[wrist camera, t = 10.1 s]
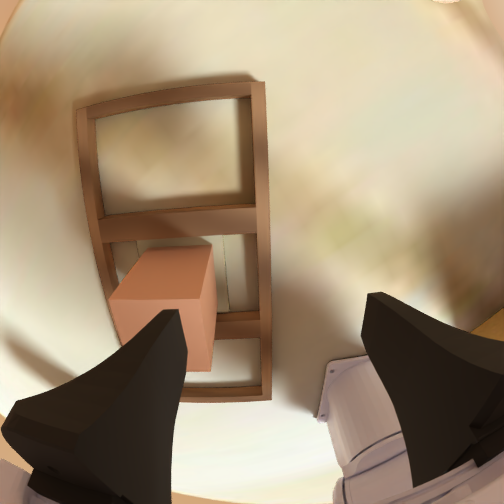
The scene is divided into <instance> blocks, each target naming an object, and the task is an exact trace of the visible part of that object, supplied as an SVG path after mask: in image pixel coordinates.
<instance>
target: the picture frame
mask: <svg viewBox="0 0 504 504" xmlns="http://www.w3.org/2000/svg"><path fill="white" fill-rule="evenodd" d="M470 333H472V334H475V335H478V336H482V337H486V338H490V339H495V340H500V341H504V308H502V309H501V310H500V311H499V312H497V313H496V314H495V315H493V316H492V317H491V318H489V319H488V320H487V321H485V322H484V323H483V324H481V325H480V326H479V327H477V328H476V329H474V330H473V331H471V332H470Z"/></svg>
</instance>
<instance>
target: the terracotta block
mask: <svg viewBox="0 0 504 504" xmlns="http://www.w3.org/2000/svg"><path fill="white" fill-rule="evenodd" d="M108 300H109V304H110V307H111V311H112V314H113V317H114V321H115V324H116V327H117V330H118V333H119V336H120V339H121V342H122V345H125V344H126V343H127V342H128V341H129V340H130V339H132V338H133V337H134V336H135V335H136V334H137V333H138V332H139V331H140V330H141V329H142V328H143V327H145V326H146V325H147V324H148V323H149V322H150V321H151V320H152V319H153V318H154V317H155V316H156V315H157V314H158V313H159V312H161V311H162V310H163V309H179V314H180V318H181V323H182V327H183V332H184V336H185V340H186V344H187V348H188V357H187V368H186V372H211V364H212V354H213V344H214V334H215V325H216V316H217V307H218V299H217V289H216V279H215V268H214V257H213V245H212V244H211V245H190V246H170V247H151V248H147V249H146V251H145V252H144V253H143V254H142V256H141V257H140V258H139V259H138V261H137V262H136V263H135V265H134V266H133V267H132V268H131V270H130V271H129V272H128V274H127V275H126V276H125V278H124V279H123V280H122V282H121V283H120V284H119V286H118V287H117V288H116V290H115V291H114V292H113V294H112V295H111V297H110V298H109V299H108Z"/></svg>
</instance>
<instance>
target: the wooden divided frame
mask: <svg viewBox="0 0 504 504" xmlns="http://www.w3.org/2000/svg"><path fill="white" fill-rule="evenodd" d="M233 98H251V116H252V139H253V163H254V187H255V204H236V205H219V206H204V207H190V208H178V209H166V210H155V211H144V212H134V213H124V214H115V215H106V216H105V213H104V207H103V200H102V193H101V186H100V177H99V168H98V158H97V146H96V131H95V119H98V118H102V117H107V116H111V115H115V114H120V113H125V112H130V111H135V110H140V109H146V108H152V107H158V106H164V105H171V104H179V103H187V102H196V101H206V100H218V99H233ZM76 113H77V137H78V151H79V162H80V171H81V180H82V188H83V195H84V202H85V208H86V214H87V220H88V225H89V230H90V235H91V240H92V245H93V249H94V254H95V258H96V262H97V267H98V271H99V275H100V278H101V282H102V286H103V289H104V293H105V296H106V300H107V303H108V307H109V310H110V313H111V316H112V319H113V322H114V325H115V328H116V331H117V334H118V337H119V340H120V343H121V346H123V345H122V342H121V339H120V336H119V333H118V330H117V327H116V324H115V321H114V317H113V314H112V311H111V307H110V304H109V300H108V299H109V298H110V297H111V295H112V294H113V292H114V291H115V290H116V288H117V287H118V286H119V282H118V278H117V274H116V269H115V265H114V260H113V256H112V251H111V246H110V243H111V242H124V241H136V244H137V249H138V255H139V258H140V257H141V256H142V254H143V253H144V252H145V251H146V249H147V248H151V247H170V246H190V245H211V244H212V245H213V257H214V268H215V279H216V289H217V299H218V307H217V312H229V302H228V291H227V280H226V268H225V256H224V244H223V235H231V234H249V233H256V238H257V264H258V292H259V311H248V312H229V313H217V316H216V325H215V334H214V340H221V339H244V338H260V350H261V381H262V386H252V387H229V388H182V393H181V397H180V401H179V402H191V403H225V402H251V401H266V400H272V312H271V244H270V202H269V169H268V141H267V117H266V94H265V82H234V83H219V84H207V85H197V86H188V87H180V88H173V89H166V90H160V91H154V92H148V93H143V94H138V95H133V96H128V97H123V98H119V99H115V100H111V101H106V102H103V103H99V104H95V105H91V106H88V107H84V108H81V109H77V110H76Z"/></svg>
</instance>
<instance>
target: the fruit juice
mask: <svg viewBox="0 0 504 504" xmlns="http://www.w3.org/2000/svg"><path fill="white" fill-rule="evenodd" d="M432 1H435V2H439V3H453V2H457V1H460V0H432Z"/></svg>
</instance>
